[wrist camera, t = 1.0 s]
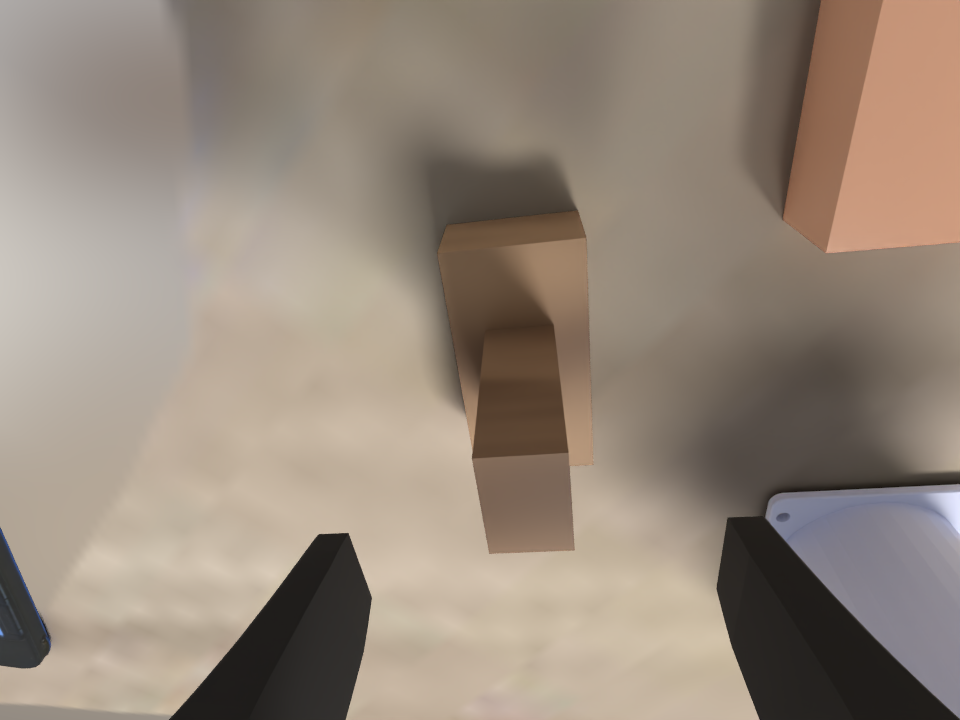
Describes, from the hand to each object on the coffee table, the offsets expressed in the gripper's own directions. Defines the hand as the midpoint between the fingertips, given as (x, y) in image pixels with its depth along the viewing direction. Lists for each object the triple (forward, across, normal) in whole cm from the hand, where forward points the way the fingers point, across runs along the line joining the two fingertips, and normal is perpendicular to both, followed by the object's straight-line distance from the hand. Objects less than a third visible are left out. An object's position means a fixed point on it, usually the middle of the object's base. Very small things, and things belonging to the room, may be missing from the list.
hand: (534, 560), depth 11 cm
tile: (+10, -11, -6) cm, 16 cm away
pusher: (+10, 0, 0) cm, 10 cm away
